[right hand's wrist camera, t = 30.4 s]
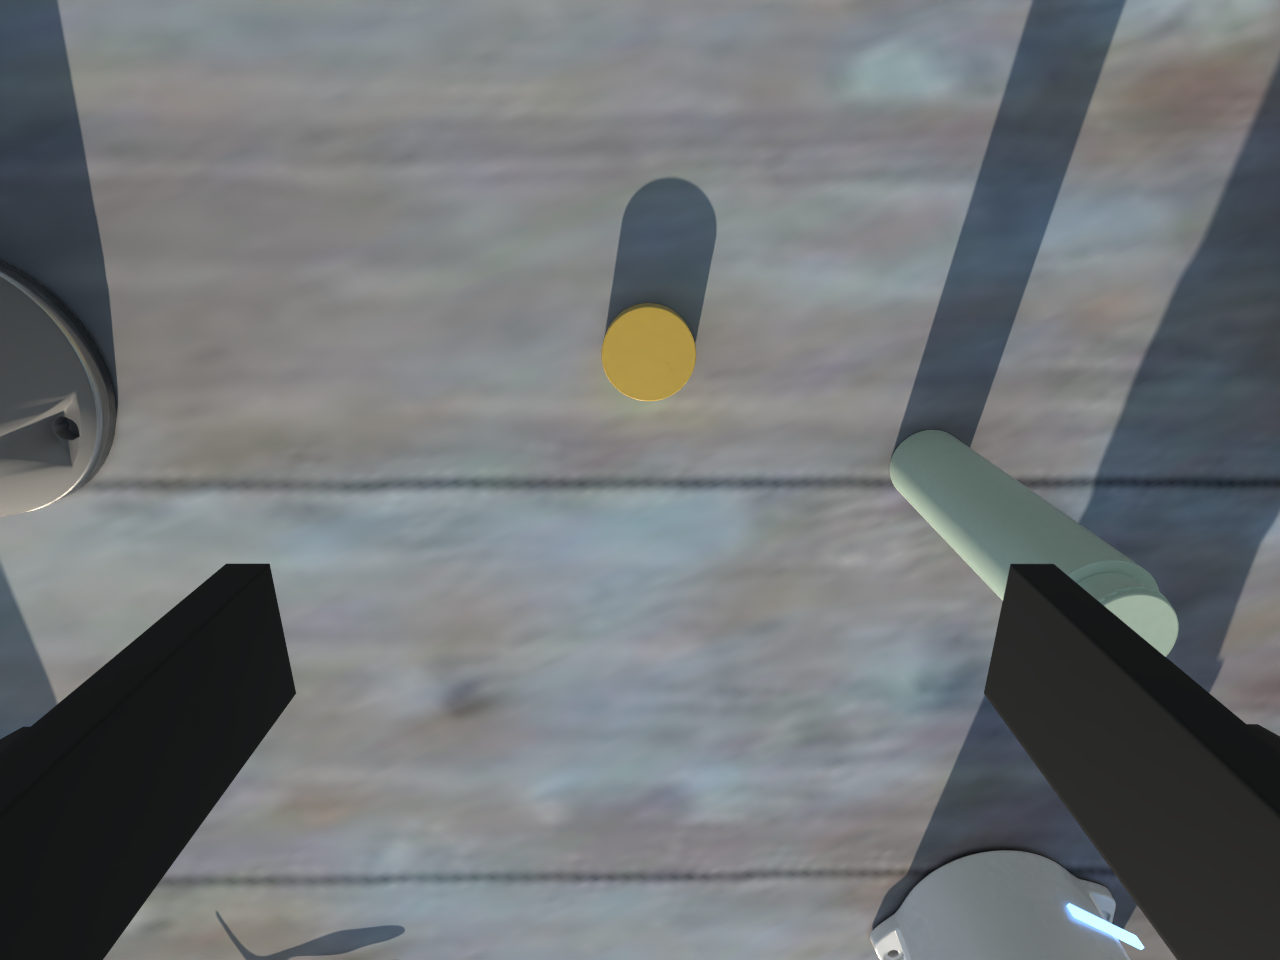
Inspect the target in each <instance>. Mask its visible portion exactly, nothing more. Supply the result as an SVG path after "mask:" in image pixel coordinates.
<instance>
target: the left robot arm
mask: <svg viewBox="0 0 1280 960" xmlns="http://www.w3.org/2000/svg"><path fill="white" fill-rule="evenodd" d="M1115 908H1116V903H1115V900H1114V898H1113V897H1112V895H1111V893H1110V891H1109V890H1108V889H1107V888H1106V887H1104V886H1102V885H1100V884H1097V883H1093V882H1089V881H1085V880H1081V879H1078V878H1076V877H1075V876H1073V875H1072V874H1070V873H1069V872H1068V871H1067V870H1066V869H1064V868H1063V867H1062V866H1060V865H1059V864H1057V863H1056V862H1054V861H1052V860H1050V859H1048V858H1046V857H1043V856H1040V855H1037V854H1033V853H1029V852H1023V851H1013V850H999V851H988V852H982V853H977V854H973V855H969V856H966V857H963V858H960V859H957V860H954V861H952V862H950V863H948V864H946V865H944V866H942V867H940V868H938V869H937V870H935V871H933V872H932V873H930V874H929V875H928V876H926V877H925V878H924V879H923V880H921V881H920V882H919V883H918V884H917V885H916V886H915V887H914V888H913V889H912V891H911V892H910V893H909V895H908V896H907V897H906V899H905V900H904V902H903V904H902V905H901V907H900V908H899V909H898V911H897V912H896V913H895V914H894V915H892V916H891V917H889V918H888V919H886V920H885V921H883V922H882V923H881V924H879V925H878V926H877V927H876V928H875V929H874V930H873V931H872V932H871V934H870V940H871V942H872V944H873V947H874V949H875V951H876V953H877V955H878V957H879V959H880V960H1130V958H1129V957H1128V955H1127V953H1126V951H1125V950H1124V948H1123V946H1122V945H1121V943H1120V941H1119V940H1118V939H1120V940H1122V941H1124V942H1126V943H1128V944H1130V945H1132V946H1134V947H1136V948H1138V949H1140V950H1142V949H1143V948H1144V946H1143V945H1142V943H1141V942H1140V941H1139V939H1138V938H1137V936H1135V935H1133V934H1131V933H1129V932H1127V931H1125V930H1123V929H1121V928H1119V927H1117V926H1115V925H1113V924H1112V921H1113V917H1114V913H1115Z"/></svg>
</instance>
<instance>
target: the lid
mask: <svg viewBox="0 0 1280 960" xmlns="http://www.w3.org/2000/svg"><path fill="white" fill-rule="evenodd" d="M695 361H696V347H695V342H694V338H693V336H692V333H691V331H690V329H689V327H688V325H687V324H686V322H685V321H684V320H683V318H682V317H681V316H680V315H679V314H677V313H676V312H675V311H673V310H672V309H670V308H668V307H666V306H663V305H660V304H655V303H643V304H638V305H634V306H632V307H629V308H627V309H626V310H624V311H622V312H621V313H620V314H619V315H618V316H617V317H616V318H615V319H614V320H613V321H612V323H611V324H610V326H609V327H608V329H607V332H606V334H605V338H604V341H603V345H602V363H603V367H604V370H605V373H606V375H607V377H608V378H609V380H610V382H611V383H612V384H613V385H614V386H615V387H616V388H617V389H618V390H619V391H620V392H622V393H623V394H625V395H626V396H628V397H631V398H633V399H637V400H641V401H656V400H661V399H664V398H667V397H669V396H671V395H673V394H674V393H676V392H677V391H678V390H680V389H681V388H682V387H683V386H684V385H685V383H686V382H687V381H688V379H689V378H690V376H691V374H692V372H693V369H694V366H695Z"/></svg>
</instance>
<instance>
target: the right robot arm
mask: <svg viewBox="0 0 1280 960" xmlns="http://www.w3.org/2000/svg"><path fill="white" fill-rule="evenodd" d="M115 427H116V405H115V397H114V392H113V387H112V383H111V380H110V377H109V373H108V371H107V368H106V366H105V363H104V361H103V359H102V357H101V355H100V353H99V351H98V349H97V347H96V345H95V344H94V342H93V341H92V339H91V337H90V336H89V334H88V333H87V331H86V330H85V329H84V327H83V326H82V325H81V323H80V322H79V321H78V320H77V318H76V317H75V316H74V315H73V314H72V313H71V311H70V310H69V309H68V308H67V307H66V306H65V305H64V304H63V303H62V302H61V301H60V300H59V299H58V298H56V297H55V296H54V295H53V294H52V293H51V292H50V291H48V290H47V289H46V288H44V287H43V286H42V285H40V284H39V283H38V282H36V281H35V280H34V279H32V278H30V277H29V276H27V275H26V274H24V273H23V272H21V271H19V270H17V269H15V268H13V267H12V266H10V265H8V264H6V263H3V262H1V261H0V517H2V516H9V515H15V514H19V513H24V512H28V511H32V510H36V509H39V508H42V507H44V506H47V505H49V504H51V503H53V502H55V501H57V500H59V499H61V498H63V497H65V496H67V495H69V494H71V493H73V492H75V491H77V490H78V489H80V488H81V487H83V486H84V485H85V484H86V483H88V482H89V481H90V480H91V479H92V478H93V477H94V476H95V475H96V473H97V472H98V471H99V470H100V468H101V467H102V465H103V464H104V462H105V460H106V458H107V456H108V454H109V452H110V449H111V446H112V443H113V439H114V434H115ZM295 694H296V691H295V686H294V681H293V676H292V672H291V667H290V662H289V657H288V652H287V647H286V642H285V637H284V632H283V627H282V623H281V618H280V613H279V608H278V603H277V598H276V593H275V588H274V583H273V578H272V574H271V569H270V564H225V565H224V566H223V567H222V568H221V569H219V570H218V571H217V572H216V573H215V574H213V575H212V576H211V577H210V578H209V579H207V580H206V581H205V582H204V583H203V584H201V585H200V586H199V587H198V588H197V589H196V590H194V591H193V592H192V593H191V594H190V595H188V596H187V597H186V598H185V599H184V600H182V601H181V602H180V603H179V604H178V605H176V606H175V607H174V608H173V609H172V610H170V611H169V612H168V613H167V614H166V615H164V616H163V617H162V618H161V619H160V620H158V621H157V622H156V623H155V624H154V625H152V626H151V627H150V628H149V629H148V630H146V631H145V632H144V633H143V634H142V635H140V636H139V637H138V638H137V639H136V640H134V641H133V642H132V643H131V644H130V645H128V646H127V647H126V648H125V649H124V650H122V651H121V652H120V653H119V654H118V655H116V656H115V657H114V658H113V659H112V660H110V661H109V662H108V663H107V664H106V665H104V666H103V667H102V668H101V669H100V670H98V671H97V672H96V673H95V674H94V675H92V676H91V677H90V678H89V679H88V680H86V681H85V682H84V683H83V684H82V685H80V686H79V687H78V688H77V689H76V690H74V691H73V692H72V693H71V694H70V695H68V696H67V697H66V698H65V699H64V700H62V701H61V702H60V703H59V704H58V705H56V706H55V707H54V708H53V709H52V710H50V711H49V712H48V713H47V714H46V715H44V716H43V717H42V718H41V719H40V720H38V721H37V722H36V723H35V724H34V725H32V726H31V727H22V728H20V729H18V730H17V731H15V732H13V733H11V734H9V735H8V736H6V737H4V738H2V739H0V960H103V959H104V957H105V956H106V955H107V953H108V952H109V951H110V949H111V948H112V946H113V945H114V944H115V942H116V941H117V939H118V938H119V937H120V935H121V934H122V933H123V931H124V930H125V928H126V927H127V926H128V924H129V923H130V922H131V920H132V919H133V917H134V916H135V915H136V913H137V912H138V911H139V909H140V908H141V906H142V905H143V904H144V902H145V901H146V899H147V898H148V897H149V895H150V894H151V893H152V891H153V890H154V888H155V887H156V886H157V884H158V883H159V882H160V880H161V879H162V877H163V876H164V875H165V873H166V872H167V871H168V869H169V868H170V866H171V865H172V864H173V862H174V861H175V859H176V858H177V857H178V855H179V854H180V853H181V851H182V850H183V848H184V847H185V846H186V844H187V843H188V842H189V840H190V839H191V837H192V836H193V835H194V833H195V832H196V831H197V829H198V828H199V826H200V825H201V824H202V822H203V821H204V820H205V818H206V817H207V815H208V814H209V813H210V811H211V810H212V808H213V807H214V806H215V804H216V803H217V802H218V800H219V799H220V797H221V796H222V795H223V793H224V792H225V791H226V789H227V788H228V786H229V785H230V784H231V782H232V781H233V780H234V778H235V777H236V775H237V774H238V773H239V771H240V770H241V768H242V767H243V766H244V764H245V763H246V762H247V760H248V759H249V757H250V756H251V755H252V753H253V752H254V751H255V749H256V748H257V746H258V745H259V744H260V742H261V741H262V740H263V738H264V737H265V735H266V734H267V733H268V731H269V730H270V728H271V727H272V726H273V724H274V723H275V722H276V720H277V719H278V717H279V716H280V715H281V713H282V712H283V711H284V709H285V708H286V706H287V705H288V704H289V702H290V701H291V700H292V698H293V697H294V695H295ZM984 694H985V695H986V697H987V698H988V700H989V701H990V702H991V704H992V705H993V706H994V708H995V709H996V711H997V712H998V713H999V715H1000V716H1001V717H1002V719H1003V720H1004V722H1005V723H1006V724H1007V726H1008V727H1009V728H1010V730H1011V731H1012V733H1013V734H1014V735H1015V737H1016V738H1017V740H1018V741H1019V742H1020V744H1021V745H1022V746H1023V748H1024V749H1025V751H1026V752H1027V753H1028V755H1029V756H1030V757H1031V759H1032V760H1033V762H1034V763H1035V764H1036V766H1037V767H1038V768H1039V770H1040V771H1041V773H1042V774H1043V775H1044V777H1045V778H1046V780H1047V781H1048V782H1049V784H1050V785H1051V786H1052V788H1053V789H1054V791H1055V792H1056V793H1057V795H1058V796H1059V797H1060V799H1061V800H1062V802H1063V803H1064V804H1065V806H1066V807H1067V808H1068V810H1069V811H1070V813H1071V814H1072V815H1073V817H1074V818H1075V820H1076V821H1077V822H1078V824H1079V825H1080V826H1081V828H1082V829H1083V831H1084V832H1085V833H1086V835H1087V836H1088V837H1089V839H1090V840H1091V842H1092V843H1093V844H1094V846H1095V847H1096V848H1097V850H1098V851H1099V853H1100V854H1101V855H1102V857H1103V858H1104V859H1105V861H1106V862H1107V864H1108V865H1109V866H1110V868H1111V869H1112V871H1113V872H1114V873H1115V875H1116V876H1117V877H1118V879H1119V880H1120V882H1121V883H1122V884H1123V886H1124V887H1125V888H1126V890H1127V891H1128V893H1129V894H1130V895H1131V897H1132V898H1133V899H1134V901H1135V902H1136V904H1137V905H1138V906H1139V908H1140V909H1141V911H1142V912H1143V913H1144V915H1145V916H1146V917H1147V919H1148V920H1149V922H1150V923H1151V924H1152V926H1153V927H1154V928H1155V930H1156V931H1157V933H1158V934H1159V935H1160V937H1161V938H1162V939H1163V941H1164V942H1165V944H1166V945H1167V946H1168V948H1169V949H1170V951H1171V952H1172V953H1173V955H1174V956H1175V957H1176V959H1177V960H1280V736H1278V735H1276V734H1274V733H1272V732H1271V731H1269V730H1267V729H1265V728H1263V727H1262V726H1260V725H1258V724H1245V723H1244V722H1243V721H1242V720H1240V719H1239V718H1238V717H1237V716H1236V715H1234V714H1233V713H1232V712H1231V711H1230V710H1228V709H1227V708H1226V707H1225V706H1224V705H1222V704H1221V703H1220V702H1219V701H1218V700H1216V699H1215V698H1214V697H1213V696H1212V695H1210V694H1209V693H1208V692H1207V691H1206V690H1204V689H1203V688H1202V687H1201V686H1200V685H1198V684H1197V683H1196V682H1195V681H1194V680H1192V679H1191V678H1190V677H1189V676H1188V675H1186V674H1185V673H1184V672H1183V671H1182V670H1180V669H1179V668H1178V667H1177V666H1176V665H1174V664H1173V663H1172V662H1171V661H1170V660H1168V659H1167V658H1166V657H1165V656H1164V655H1162V654H1161V653H1160V652H1159V651H1158V650H1156V649H1155V648H1154V647H1153V646H1152V645H1150V644H1149V643H1148V642H1147V641H1146V640H1144V639H1143V638H1142V637H1141V636H1140V635H1138V634H1137V633H1136V632H1135V631H1134V630H1132V629H1131V628H1130V627H1129V626H1128V625H1126V624H1125V623H1124V622H1123V621H1122V620H1120V619H1119V618H1118V617H1117V616H1116V615H1114V614H1113V613H1112V612H1111V611H1110V610H1108V609H1107V608H1106V607H1105V606H1104V605H1102V604H1101V603H1100V602H1099V601H1098V600H1096V599H1095V598H1094V597H1093V596H1092V595H1090V594H1089V593H1088V592H1087V591H1086V590H1084V589H1083V588H1082V587H1081V586H1080V585H1079V584H1077V583H1076V582H1075V581H1074V580H1073V579H1071V578H1070V577H1069V576H1068V575H1067V574H1065V573H1064V572H1063V571H1062V570H1061V569H1059V568H1058V567H1057V566H1056V565H1055V564H1010V569H1009V574H1008V578H1007V583H1006V588H1005V593H1004V598H1003V603H1002V608H1001V613H1000V618H999V623H998V627H997V632H996V637H995V642H994V647H993V652H992V657H991V662H990V667H989V672H988V676H987V681H986V686H985V691H984Z"/></svg>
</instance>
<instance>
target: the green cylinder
mask: <svg viewBox="0 0 1280 960" xmlns="http://www.w3.org/2000/svg"><path fill="white" fill-rule="evenodd" d="M890 477H891V480H892V483H893V484H894V486H895V487H896V489H897V490H898V491H899V492H900V493H901V494H902V495H903V496H904V497H905V498H906V499H907V500H908V502H909V503H910V504H911V505H912V506H913V507H914V508H915V509H916V510H917V511H918V512H919V513H920V514H921V515H922V516H923V517H924V518H925V519H926V520H927V522H928V523H929V524H930V525H931V526H932V527H933V528H934V529H935V530H936V531H937V532H938V533H939V534H940V535H941V536H942V537H943V538H944V539H945V540H946V542H947V543H948V544H949V545H950V546H951V547H952V548H953V549H954V550H955V551H956V552H957V553H958V554H959V555H960V556H961V557H962V558H963V559H964V560H965V561H966V563H967V564H968V565H969V566H970V567H971V568H972V569H973V570H974V571H975V572H976V573H977V574H978V575H979V576H980V577H981V578H982V579H983V580H984V581H985V583H986V584H987V585H988V586H989V587H990V588H991V589H992V590H993V591H994V592H995V593H996V594H997V595H998V596H999V597H1000V598H1001V599H1002V600H1003V598H1004V593H1005V588H1006V583H1007V578H1008V574H1009V569H1010V564H1055V565H1056V566H1057V567H1058V568H1059V569H1061V570H1062V571H1063V572H1064V573H1065V574H1067V575H1068V576H1069V577H1070V578H1071V579H1073V580H1074V581H1075V582H1076V583H1077V584H1079V585H1080V586H1081V587H1082V588H1083V589H1084V590H1086V591H1087V592H1088V593H1089V594H1090V595H1092V596H1093V597H1094V598H1095V599H1096V600H1098V601H1099V602H1100V603H1101V604H1102V605H1104V606H1105V607H1106V608H1107V609H1108V610H1110V611H1111V612H1112V613H1113V614H1114V615H1116V616H1117V617H1118V618H1119V619H1120V620H1122V621H1123V622H1124V623H1125V624H1126V625H1128V626H1129V627H1130V628H1131V629H1132V630H1134V631H1135V632H1136V633H1137V634H1138V635H1140V636H1141V637H1142V638H1143V639H1144V640H1146V641H1147V642H1148V643H1149V644H1150V645H1152V646H1153V647H1154V648H1155V649H1156V650H1158V651H1159V652H1160V653H1161V654H1162V655H1164V656H1165V657H1166V656H1167V655H1168V653H1169V652H1170V651H1171V649H1172V648H1173V646H1174V644H1175V642H1176V639H1177V636H1178V630H1179V622H1178V618H1177V615H1176V613H1175V611H1174V609H1173V608H1172V606H1171V604H1170V603H1169V601H1168V600H1167V599H1166V598H1165V596H1164V595H1163V594H1161V593H1160V591H1159V588H1158V585H1157V583H1156V581H1155V580H1154V578H1153V577H1152V576H1151V575H1150V573H1149V572H1147V571H1146V570H1145V569H1144V568H1142V567H1141V566H1139V565H1138V564H1136V563H1135V562H1134V561H1132V560H1131V559H1129V558H1128V557H1126V556H1125V555H1123V554H1122V553H1121V552H1119V551H1118V550H1116V549H1115V548H1113V547H1112V546H1111V545H1109V544H1108V543H1106V542H1105V541H1103V540H1102V539H1100V538H1099V537H1098V536H1096V535H1095V534H1093V533H1092V532H1090V531H1089V530H1087V529H1086V528H1085V527H1083V526H1082V525H1080V524H1079V523H1077V522H1076V521H1075V520H1073V519H1072V518H1070V517H1069V516H1067V515H1066V514H1064V513H1063V512H1062V511H1060V510H1059V509H1057V508H1056V507H1054V506H1053V505H1051V504H1050V503H1049V502H1047V501H1046V500H1044V499H1043V498H1041V497H1040V496H1038V495H1037V494H1036V493H1034V492H1033V491H1031V490H1030V489H1028V488H1027V487H1026V486H1024V485H1023V484H1021V483H1020V482H1018V481H1017V480H1015V479H1014V478H1013V477H1011V476H1010V475H1008V474H1007V473H1005V472H1004V471H1002V470H1001V469H1000V468H998V467H997V466H995V465H994V464H992V463H991V462H989V461H988V460H987V459H985V458H984V457H982V456H981V455H979V454H978V453H977V452H975V451H974V450H972V449H971V448H969V447H968V446H966V445H965V444H964V443H962V442H961V441H959V440H958V439H956V438H955V437H953V436H952V435H950V434H949V433H946V432H944V431H940V430H925V431H921V432H918V433H915V434H913V435H911V436H909V437H908V438H907V439H905V440H904V441H903V442H902V443H901V444H900V445H899V446H898V447H897V449H896V450H895V452H894V454H893V456H892V459H891V463H890Z"/></svg>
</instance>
